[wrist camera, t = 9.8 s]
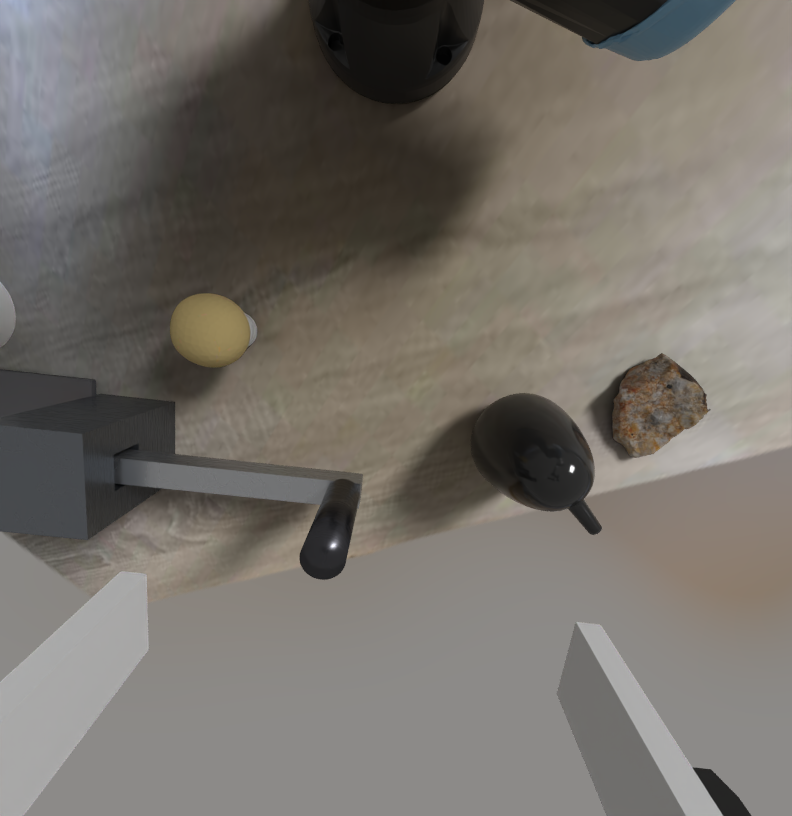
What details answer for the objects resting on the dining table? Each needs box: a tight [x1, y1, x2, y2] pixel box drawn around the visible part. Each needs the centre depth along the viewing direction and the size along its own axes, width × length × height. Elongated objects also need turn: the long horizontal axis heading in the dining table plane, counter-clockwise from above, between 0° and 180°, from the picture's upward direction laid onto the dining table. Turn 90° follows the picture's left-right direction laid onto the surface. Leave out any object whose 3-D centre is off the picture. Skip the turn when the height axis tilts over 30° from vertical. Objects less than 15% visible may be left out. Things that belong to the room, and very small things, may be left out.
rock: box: [612, 353, 710, 458], centre depth 41 cm, size 9×6×10 cm
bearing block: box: [0, 394, 175, 540], centre depth 38 cm, size 9×8×13 cm
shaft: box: [114, 449, 363, 579], centre depth 32 cm, size 3×29×12 cm, turn 84°
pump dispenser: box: [471, 393, 602, 535], centre depth 36 cm, size 10×10×15 cm
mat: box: [0, 369, 96, 417], centre depth 44 cm, size 12×12×1 cm
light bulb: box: [170, 293, 257, 368], centre depth 37 cm, size 6×6×10 cm
